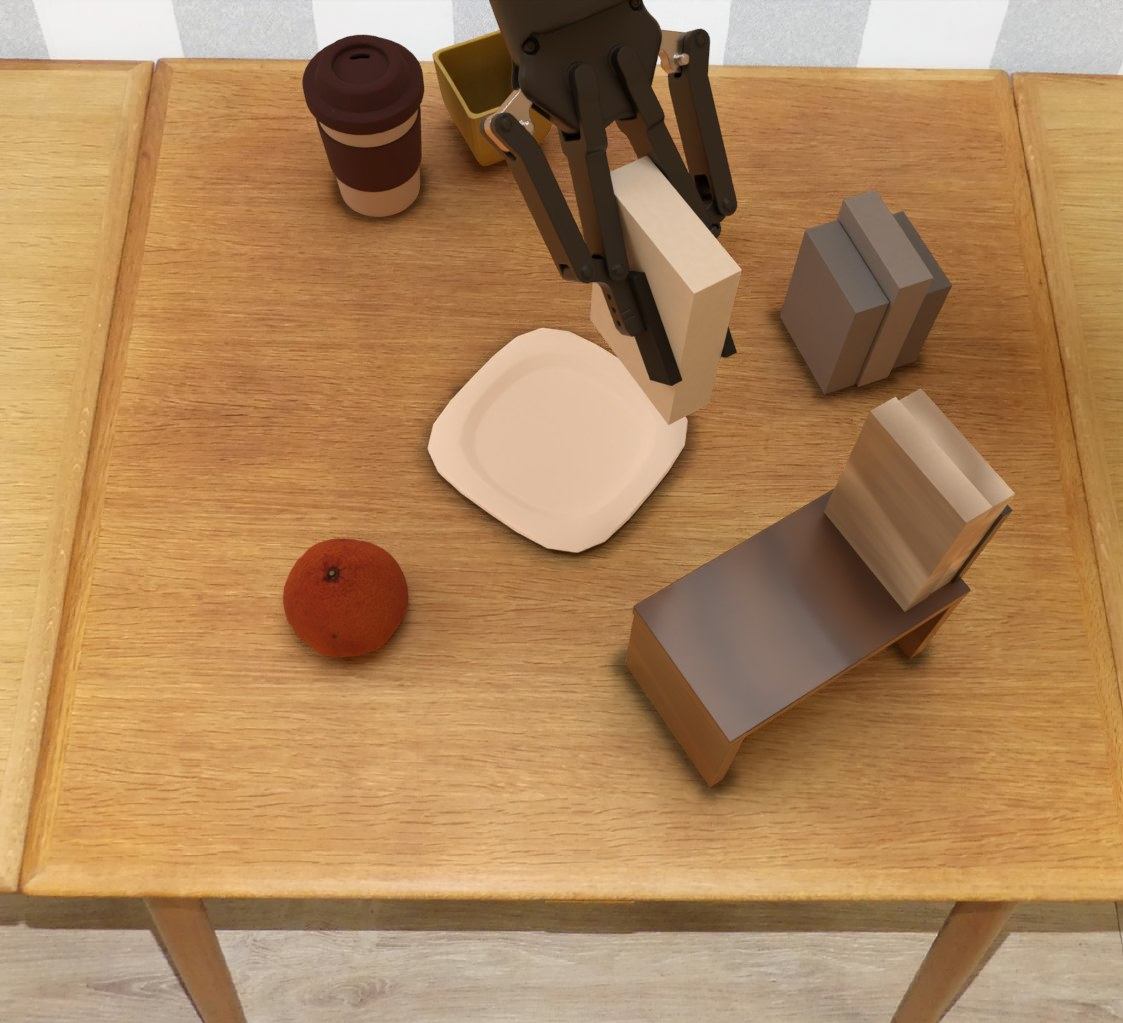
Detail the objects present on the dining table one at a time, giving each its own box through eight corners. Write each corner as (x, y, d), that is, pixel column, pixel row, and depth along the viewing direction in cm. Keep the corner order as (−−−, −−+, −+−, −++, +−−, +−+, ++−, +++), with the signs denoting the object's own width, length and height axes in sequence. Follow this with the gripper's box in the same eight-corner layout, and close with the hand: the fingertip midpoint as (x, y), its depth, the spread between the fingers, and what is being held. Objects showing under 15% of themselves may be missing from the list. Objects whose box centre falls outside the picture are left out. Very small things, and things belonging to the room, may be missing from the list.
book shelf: (832, 541, 97) (921, 361, 74) (921, 652, 93) (1044, 497, 70) (621, 667, 92) (649, 515, 69) (706, 791, 88) (764, 671, 65)
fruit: (276, 655, 92) (254, 614, 85) (318, 552, 96) (301, 505, 89) (388, 686, 91) (376, 647, 84) (426, 580, 95) (417, 535, 88)
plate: (402, 460, 100) (400, 450, 98) (538, 317, 106) (538, 305, 105) (580, 585, 95) (581, 576, 93) (711, 426, 101) (713, 416, 100)
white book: (589, 319, 77) (600, 176, 65) (629, 300, 78) (647, 154, 66) (668, 425, 74) (694, 293, 62) (709, 404, 74) (742, 269, 63)
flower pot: (560, 160, 115) (562, 87, 107) (475, 191, 113) (470, 118, 105) (520, 98, 118) (519, 22, 110) (437, 126, 116) (429, 51, 108)
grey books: (776, 318, 107) (808, 209, 94) (867, 289, 108) (910, 179, 96) (824, 401, 103) (863, 300, 90) (917, 370, 104) (968, 266, 92)
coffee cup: (402, 247, 110) (383, 123, 96) (306, 209, 111) (275, 82, 98) (453, 171, 114) (442, 43, 100) (360, 136, 115) (337, 5, 102)
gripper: (648, -93, 67) (771, 304, 75) (386, 10, 63) (548, 417, 71) (716, -126, 60) (843, 313, 69) (428, -13, 56) (601, 439, 65)
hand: (692, 365), depth 70 cm, fingers closed on white book, 3 cm apart
